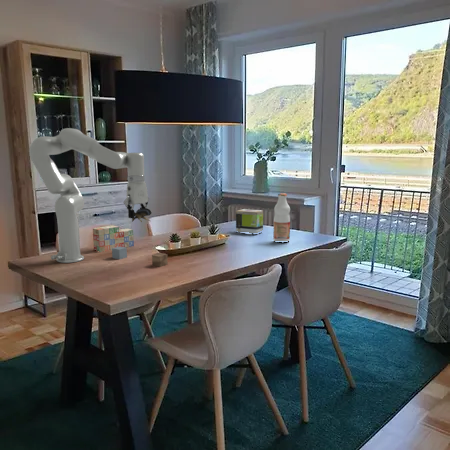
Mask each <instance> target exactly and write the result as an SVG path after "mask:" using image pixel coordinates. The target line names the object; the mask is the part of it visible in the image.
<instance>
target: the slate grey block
mask: <svg viewBox="0 0 450 450" xmlns="http://www.w3.org/2000/svg"><path fill="white" fill-rule="evenodd" d="M127 248H128V247H116V248H112V250H111V252H112V253H111V254H112V255H111V256H112V259H116V260H123V259H126V258H128V249H127Z"/></svg>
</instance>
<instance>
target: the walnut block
mask: <svg viewBox="0 0 450 450" xmlns="http://www.w3.org/2000/svg"><path fill="white" fill-rule="evenodd" d="M151 262H152V263H151V265H152V266H153V267H160V268H162V267H165V266H167V265H168V264H169V263H168V262H169V261H168V253H167V254H166V253H163V252H157V253H154V254H152V255H151Z"/></svg>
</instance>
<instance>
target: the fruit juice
mask: <svg viewBox="0 0 450 450" xmlns="http://www.w3.org/2000/svg"><path fill="white" fill-rule="evenodd" d="M277 196H278V199H277V202H276V204H275V206H274V208H273V212H274V216H273V239H272V240H274V241H289V240H290V241H291V238H290V237H291V215H290V213H291V207H290V205H289V203H288V201H287V200H288V199H287V196H288V194H287V193H277ZM274 241H273V242H274ZM290 241H289V242H290Z"/></svg>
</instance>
